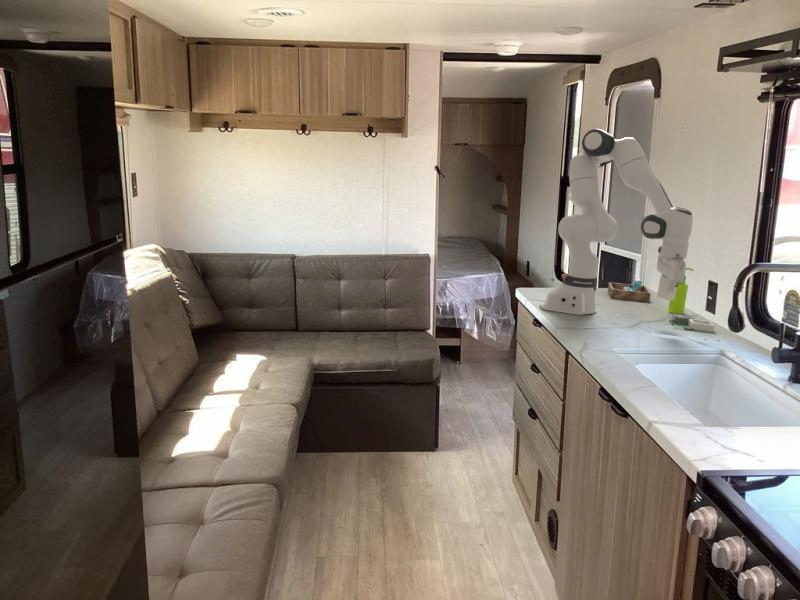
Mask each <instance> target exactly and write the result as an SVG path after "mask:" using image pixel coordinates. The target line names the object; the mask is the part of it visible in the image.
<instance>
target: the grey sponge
mask: <svg viewBox="0 0 800 600" xmlns="http://www.w3.org/2000/svg"><path fill="white" fill-rule="evenodd" d="M671 315H672V316H671V319H668V322H669V323H670V324H671V326H672V325H674V323H675V324H684V325H688V321H689V319H691V318H690V316H689V315H688V314H674V313H671Z"/></svg>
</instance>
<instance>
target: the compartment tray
mask: <svg viewBox="0 0 800 600" xmlns="http://www.w3.org/2000/svg"><path fill="white" fill-rule="evenodd" d="M671 327H673V329H674V330H675V331H676V330H677V331H685V332H696V333H704V334H712V335H715V334H716V332H715V331H714V330H715V324H714V323H712V321H711V320H704V319H694V318H690V319H689V321H688V325H684V324H675V323H674V325H672V324H671Z"/></svg>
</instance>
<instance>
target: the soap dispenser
mask: <svg viewBox="0 0 800 600" xmlns="http://www.w3.org/2000/svg"><path fill="white" fill-rule="evenodd" d="M686 270H687V271H691V272H692V271H694V269H693V268H691V267H686ZM686 270H685V271H686ZM686 279H687V275H685V277H684V281H683V282H679V283H678V287H677V290H676V295H675V299H673V300H669V305H668V310H667V311H668V313H670V314H680V315H684V313H685V306H686V301H687V300H686V299H687V295H688V288H689V284H687V283H686Z"/></svg>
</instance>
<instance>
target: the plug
mask: <svg viewBox="0 0 800 600" xmlns="http://www.w3.org/2000/svg"><path fill="white" fill-rule="evenodd" d="M678 283H679V282H677V284H676V286H675V288H674V291H673V292H672V291H669V290H668V286H669V285H670V279H669V278H668V277H666V276H660V278H659V283H658V288H657V293H656V297H657V298H658V299H659V298H660V299H663V300H667V301H670V300H673V299H675V295H676V290H677V287H678Z"/></svg>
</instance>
